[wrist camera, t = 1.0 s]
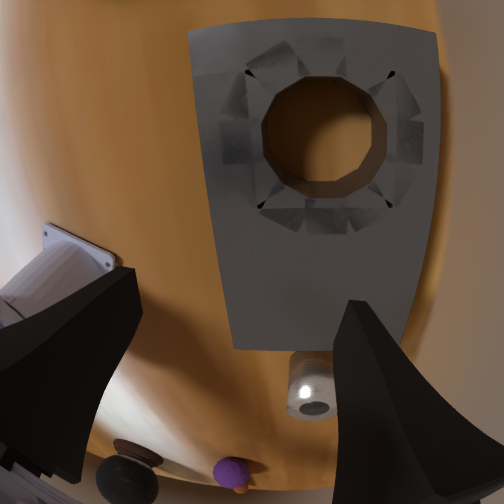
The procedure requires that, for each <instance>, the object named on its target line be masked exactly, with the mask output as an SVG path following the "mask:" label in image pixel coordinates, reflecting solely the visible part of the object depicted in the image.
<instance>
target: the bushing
mask: <svg viewBox="0 0 504 504" xmlns="http://www.w3.org/2000/svg"><path fill="white" fill-rule="evenodd" d="M286 410H287V412H288V414H289V415H291V416H292V417H294V418H297V419H300V420H306V421H318V420H324V419H328V418H330V417H333V416H335V415H336V414H337V404H336V394H335V384H334V374H333V350H332V351H296V352H295V353H293V355H292V356H291V358H290V361H289V378H288V394H287V408H286Z"/></svg>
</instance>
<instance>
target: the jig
mask: <svg viewBox="0 0 504 504" xmlns="http://www.w3.org/2000/svg"><path fill="white" fill-rule="evenodd" d="M188 38H189V49H190V59H191V69H192V78H193V87H194V96H195V104H196V113H197V121H198V129H199V136H200V144H201V151H202V159H203V166H204V173H205V180H206V187H207V194H208V200H209V207H210V214H211V220H212V226H213V233H214V239H215V245H216V251H217V257H218V263H219V269H220V275H221V280H222V286H223V292H224V297H225V303H226V308H227V314H228V319H229V324H230V330H231V335H232V340H233V345H234V349H241V350H268V351H332V350H333V342H334V339H335V337H336V334H337V331H338V329H339V326H340V323H341V320H342V318H343V315H344V312H345V309H346V306H347V303H348V301H349V299H350V300H359V301H366V302H367V303H368V304H369V305H370V307H371V308H372V310H373V311H374V312H375V314H376V315H377V317H378V318H379V319H380V321H381V322H382V324H383V325H384V326H385V328H386V329H387V331H388V332H389V333H390V335H391V336H392V338H393V339H394V340H395V342H396V343H397V344H398V346H399V345H400V342H401V339H402V336H403V333H404V330H405V327H406V324H407V321H408V318H409V314H410V311H411V308H412V304H413V301H414V297H415V294H416V290H417V286H418V282H419V278H420V274H421V270H422V266H423V262H424V257H425V252H426V248H427V243H428V238H429V232H430V227H431V221H432V215H433V208H434V201H435V193H436V185H437V176H438V165H439V152H440V131H441V89H440V69H439V57H438V47H437V38H436V33H434V32H429V31H425V30H420V29H416V28H411V27H405V26H400V25H393V24H387V23H380V22H371V21H362V20H350V19H333V18H286V19H269V20H257V21H247V22H239V23H231V24H224V25H218V26H212V27H207V28H201V29H196V30H192V31H188ZM253 75H254V76H255V77H256V78H254V77H253ZM302 80H332V81H334V82H336V83H338V84H340V85H341V86H343V87H345V88H347V89H348V90H350V91H352V92H353V93H355V94H357V95H358V97H359V99H360V100H361V102H362V104H363V105H364V107H365V109H366V110H367V112H368V114H369V115H370V117H371V119H372V146H371V148H370V150H369V151H368V153H367V155H366V156H365V158H364V160H363V161H362V163H361V165H360V166H359V168H358V169H357V170H355V171H353V172H351V173H349V174H347V175H346V176H344V177H342V178H340V179H338V180H337V181H310V182H308V181H306V180H304V179H302V178H301V177H299V176H297V175H295V174H293V173H291V172H289V171H287V170H285V169H284V168H283V167H282V165H281V164H280V162H279V161H278V160H277V158H276V157H275V155H274V154H273V152H272V151H271V149H270V148H269V147H268V135H267V123H266V119H267V117H268V115H269V113H270V111H271V109H272V107H273V105H274V103H275V101H276V99H277V97H278V95H279V94H281V93H282V92H284V91H286V90H287V89H289V88H291V87H292V86H294V85H296V84H297V83H299V82H301V81H302Z"/></svg>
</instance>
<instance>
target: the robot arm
mask: <svg viewBox="0 0 504 504" xmlns="http://www.w3.org/2000/svg"><path fill="white" fill-rule="evenodd" d="M42 236H43V251H42V252H41V253H40V254H39V255H37V256H36V257H35V258H34V259H33V260H32V261H31V262H29V263H28V264H27V265H26V266H25V267H24V268H23V269H22V270H21V271H20V272H18V273H17V274H16V275H15V276H14V277H13V278H12V279H11V280H10V281H9V282H8V283H7V284H6V285H5V286H4V287H3V288H2V289H1V290H0V504H83V503H81V502H79V501H77V500H75V499H73V498H72V497H70V496H68V495H66V494H64V493H63V492H61V491H59V490H57V489H55V488H54V487H52V486H50V485H49V484H48V483H46V482H44V481H43V480H41V479H40V475H41V473H43V474H45V475H46V476H48V477H49V478H51V477H52V475H53V474H55V475H57V476H59V477H60V478H62V479H64V480H66V481H67V482H69V483H71V484H76V483H79V482H81V475H82V468H83V462H84V456H85V452H86V447H87V443H88V439H89V435H90V431H91V428H92V425H93V422H94V418H95V415H96V412H97V409H98V407H99V404H100V401H101V399H102V396H103V393H104V391H105V389H106V387H107V385H108V383H109V381H110V379H111V377H112V375H113V373H114V371H115V370H116V368H117V366H118V364H119V362H120V361H121V359H122V357H123V355H124V353H125V352H126V350H127V348H128V346H129V344H130V343H131V341H132V339H133V337H134V335H135V332H136V330H137V328H138V325H139V322H140V320H141V317H142V315H143V310H142V305H141V300H140V295H139V289H138V284H137V278H136V272H135V269H134V268H128V267H123V266H119V267H117V268H115V257H114V255H113V254H112V253H110V252H108V251H105V250H103V249H101V248H99V247H97V246H95V245H93V244H90V243H88V242H86V241H84V240H82V239H80V238H78V237H76V236H74V235H72V234H70V233H68V232H66V231H64V230H62V229H60V228H58V227H56V226H54V225H52V224H50V223H47V222H46V223H44V224H43V225H42ZM108 263H109V264H110V265H109V264H108ZM333 374H334V384H335V394H336V404H337V415H338V432H339V439H338V457H337V469H336V479H335V487H334V493H333V500H332V504H480V499H482V498H484V497H486V496H488V495H490V494H492V493H494V492H496V491H497V490H499V489H501V488H503V487H504V446H503V445H502V444H500V443H498V442H497V441H495V440H494V439H492V438H490V437H489V436H487V435H486V434H485V433H483V432H482V431H481V430H479V429H478V428H477V427H475V426H474V425H473V424H472V423H470V422H469V421H468V420H467V419H465V418H464V417H463V416H462V415H461V414H460V413H459V412H457V411H456V410H455V409H454V408H453V407H452V406H451V405H450V404H449V403H448V402H447V401H446V400H445V399H444V398H443V397H441V396H440V394H439V393H438V392H437V391H436V390H435V389H434V388H433V387H432V386H431V385H430V384H429V383H428V382H427V381H426V379H425V378H424V377H423V376H422V375H421V374H420V372H419V371H418V370H417V369H416V367H415V366H414V365H413V364H412V362H411V361H410V360H409V359H408V358H407V356H406V355H405V354H404V352H403V351H402V350H401V348H400V347H399V346H398V344H397V343H396V342H395V340H394V339H393V338H392V336H391V335H390V333H389V332H388V331H387V329H386V328H385V326H384V325H383V324H382V322H381V321H380V319H379V318H378V317H377V315H376V314H375V312H374V311H373V310H372V308H371V307H370V305H369V304H368V303H367V302H366V301H359V300H350V299H349V301H348V303H347V306H346V309H345V312H344V315H343V318H342V320H341V323H340V326H339V329H338V331H337V334H336V337H335V339H334V342H333Z"/></svg>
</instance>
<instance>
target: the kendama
mask: <svg viewBox="0 0 504 504" xmlns="http://www.w3.org/2000/svg"><path fill="white" fill-rule="evenodd" d="M249 473H250V472H249V469H248V466H247V465H246V464H245V463H244V461H242V460H240V459H238V458H232V457H228V458H223V459H222V460H220V461H218V462H217V464H216V465H215V466H214V470H213V475H214V478H215V480H216V481H217V482H218V483H219V484H220V485H221V486H223V487H225V488H232V489H234V491H235V492H237V493H241V494H242V493H245V492H246V491H247V490H248V484H247V483H246V482H247V480H248V479H249Z"/></svg>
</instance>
